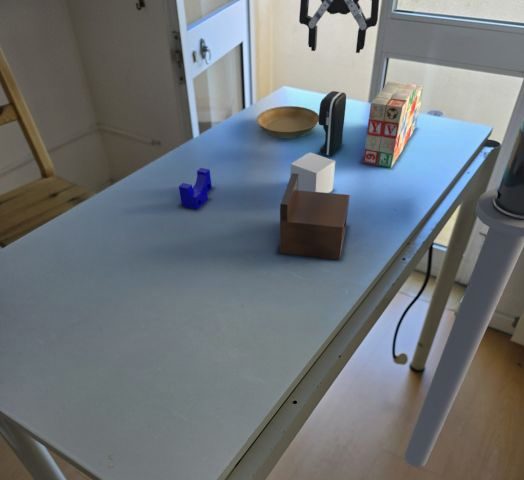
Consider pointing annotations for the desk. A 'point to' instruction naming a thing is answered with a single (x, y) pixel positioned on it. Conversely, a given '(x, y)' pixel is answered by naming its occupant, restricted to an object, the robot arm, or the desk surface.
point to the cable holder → (196, 190)
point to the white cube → (314, 173)
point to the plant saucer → (288, 121)
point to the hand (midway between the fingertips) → (335, 50)
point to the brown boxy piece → (312, 222)
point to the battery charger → (332, 120)
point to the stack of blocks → (391, 122)
